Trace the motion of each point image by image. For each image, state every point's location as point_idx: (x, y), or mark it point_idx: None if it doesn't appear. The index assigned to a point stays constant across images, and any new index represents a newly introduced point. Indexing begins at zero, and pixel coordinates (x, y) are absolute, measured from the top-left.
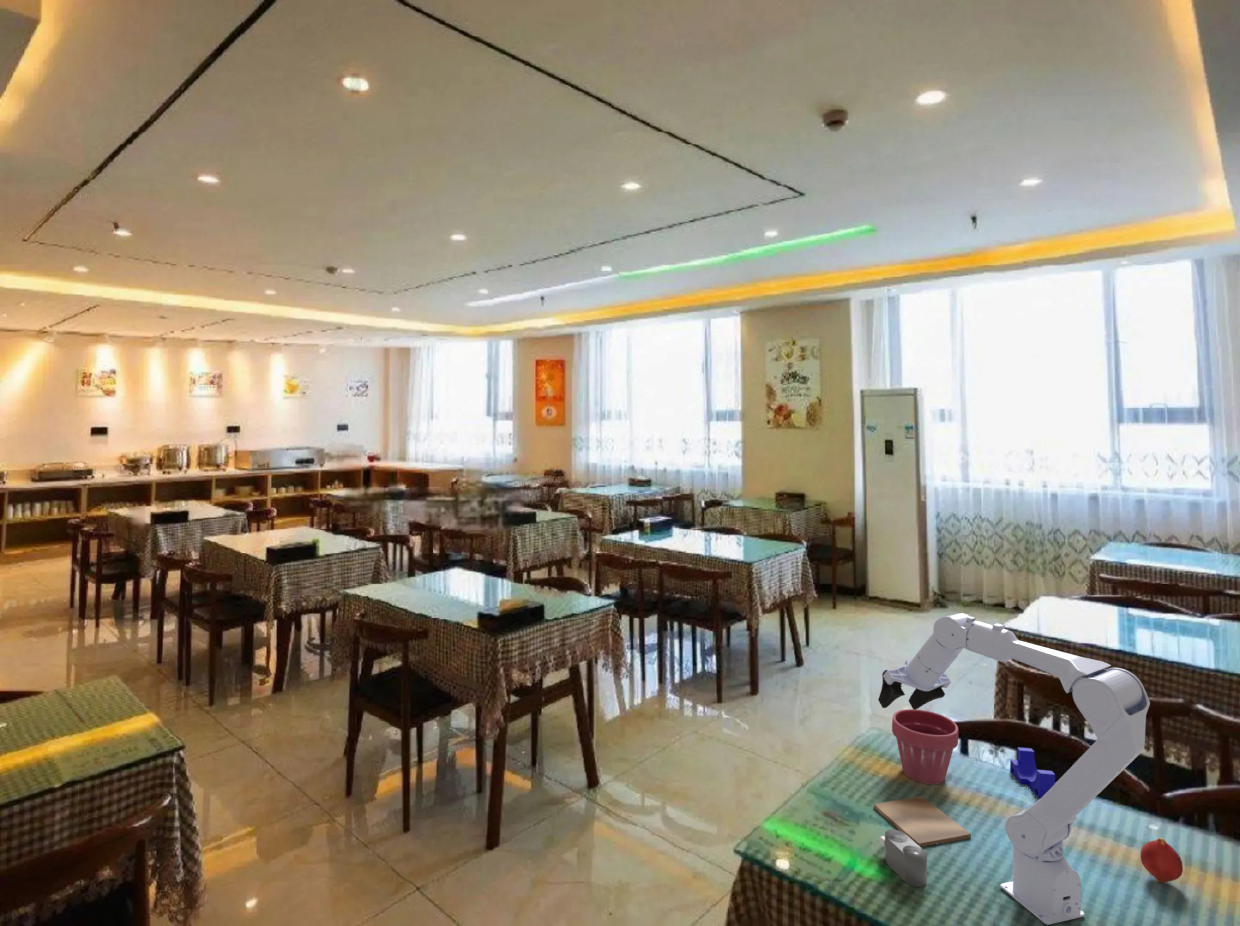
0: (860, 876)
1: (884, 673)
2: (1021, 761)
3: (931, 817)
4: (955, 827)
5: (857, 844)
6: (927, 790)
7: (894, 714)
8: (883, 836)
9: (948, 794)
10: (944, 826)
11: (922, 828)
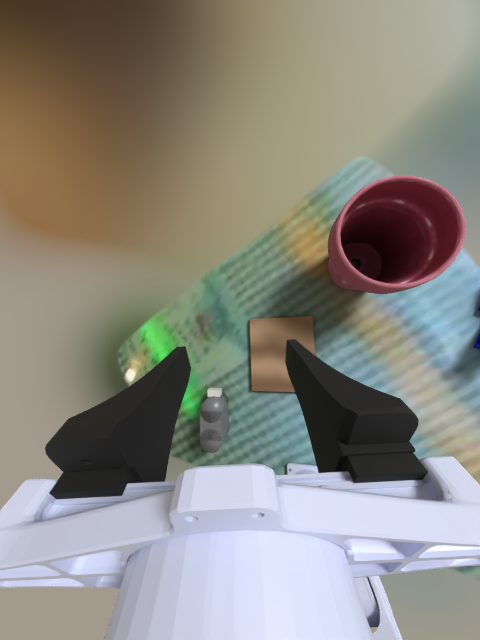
0: None
1: (48, 454)
2: None
3: None
4: None
5: (200, 369)
6: (332, 300)
7: (354, 196)
8: (210, 390)
9: (352, 313)
10: None
11: (271, 370)
